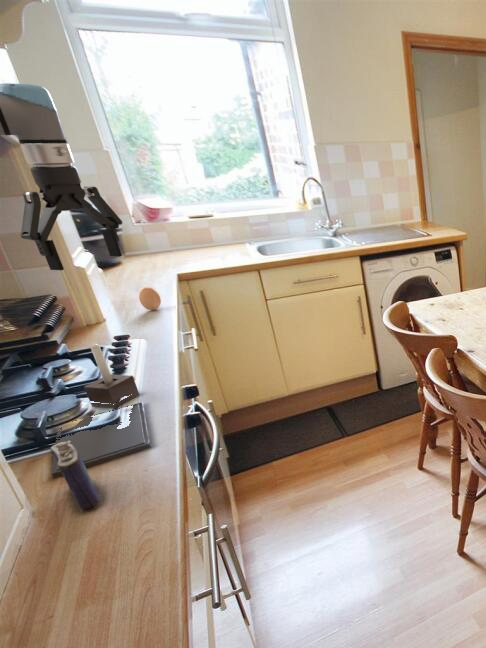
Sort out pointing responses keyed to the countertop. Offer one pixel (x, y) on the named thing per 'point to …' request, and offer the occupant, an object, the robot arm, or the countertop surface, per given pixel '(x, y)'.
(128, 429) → the plate
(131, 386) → the holder
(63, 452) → the flask
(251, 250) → the countertop surface
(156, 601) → the countertop surface
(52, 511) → the countertop surface
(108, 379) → the stylus
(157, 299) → the egg
